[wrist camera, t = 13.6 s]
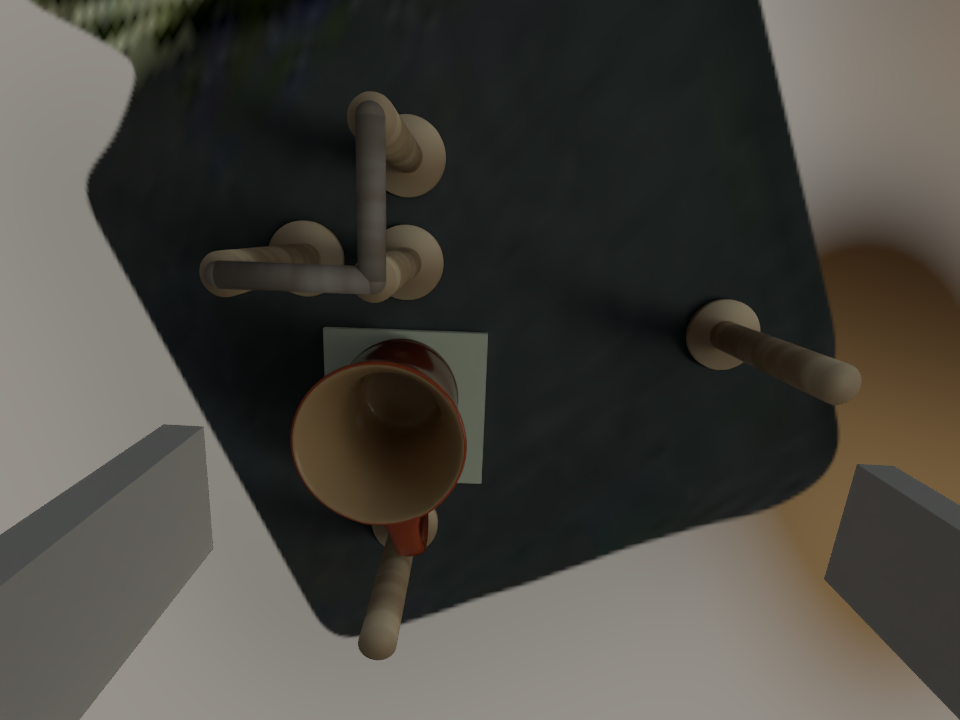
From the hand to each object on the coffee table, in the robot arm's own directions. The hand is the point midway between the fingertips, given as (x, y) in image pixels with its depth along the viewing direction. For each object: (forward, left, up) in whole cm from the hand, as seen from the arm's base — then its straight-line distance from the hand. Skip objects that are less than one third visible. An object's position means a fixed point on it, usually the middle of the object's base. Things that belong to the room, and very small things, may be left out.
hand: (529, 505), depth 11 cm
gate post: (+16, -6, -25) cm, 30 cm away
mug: (+7, -5, -25) cm, 26 cm away
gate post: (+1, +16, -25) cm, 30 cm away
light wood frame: (-6, -9, -25) cm, 28 cm away
